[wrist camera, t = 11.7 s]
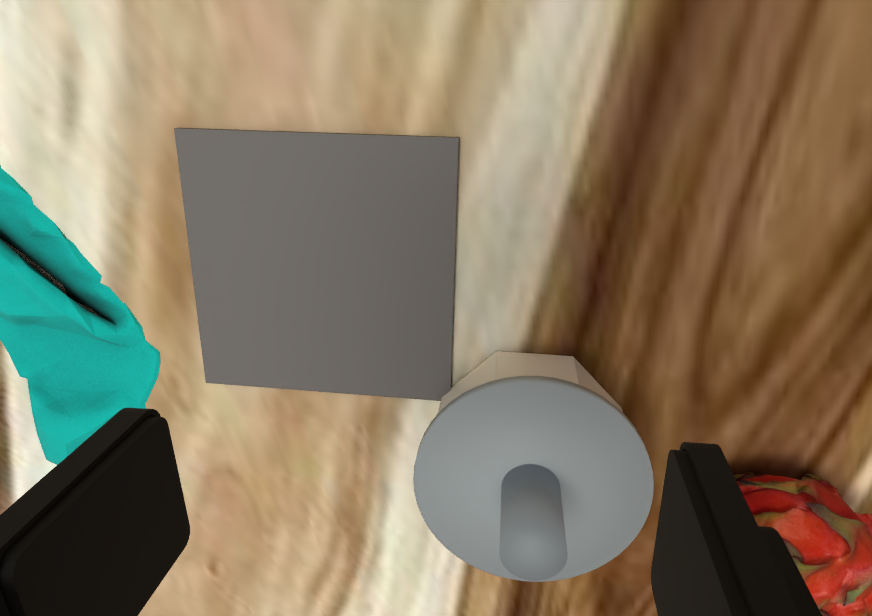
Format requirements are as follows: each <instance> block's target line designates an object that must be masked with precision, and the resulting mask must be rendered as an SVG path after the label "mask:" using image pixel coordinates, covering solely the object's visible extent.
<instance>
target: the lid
mask: <svg viewBox="0 0 872 616" xmlns="http://www.w3.org/2000/svg"><path fill="white" fill-rule="evenodd" d="M413 479H414V492H415V496H416V500H417V504H418V507H419V510H420V512H421V515H422V517H423V519H424V520H425V522H426V524H427V526H428V527H429V529H430V530H431V531H432V533H433V534H434V535H435V537H436V538H437V539H438V540H439V541H440V542H441V543H442V544H443V545H444V546H445V547H446V548H447V549H448V550H449V551H451V552H452V553H453V554H454V555H456V556H457V557H458V558H460V559H462V560H463V561H465V562H466V563H468V564H470V565H472V566H474V567H476V568H478V569H480V570H482V571H485V572H488V573H490V574H493V575H496V576H500V577H504V578H508V579H514V580H521V581H535V582H540V581H555V580H561V579H567V578H571V577H575V576H578V575H582V574H584V573H587V572H590V571H592V570H595V569H596V568H598V567H600V566H602V565H604V564H606V563H608V562H609V561H610V560H612V559H613V558H615V557H616V556H618V555H619V554H620V553H621V552H622V551H623V550H624V549H626V548H627V547H628V546H629V545H630V543H631V542H632V541H633V540H634V539H635V537H636V536H637V535H638V533H639V532H640V530H641V529H642V527H643V525H644V524H645V521H646V519H647V517H648V514H649V512H650V508H651V504H652V500H653V490H654V481H653V471H652V467H651V463H650V459H649V456H648V453H647V450H646V448H645V445H644V443H643V441H642V438H641V436H640V435H639V433H638V431H637V430H636V428H635V427H634V425H633V424H632V423H631V421H630V420H629V419H628V418H627V417H626V415H625V414H624V413H623V412H622V411H620V410H619V409H618V408H617V407H616V406H615V405H614V404H613V403H611V402H610V401H608V400H607V399H606V398H604V397H603V396H601V395H600V394H598V393H596V392H594V391H592V390H590V389H588V388H586V387H583V386H581V385H578V384H575V383H573V382H570V381H566V380H562V379H557V378H552V377H544V376H516V377H507V378H502V379H498V380H494V381H490V382H487V383H484V384H482V385H479V386H476V387H474V388H472V389H470V390H468V391H466V392H464V393H462V394H461V395H460V396H458V397H457V398H455V399H454V400H452V401H451V402H450V403H449V404H448V405H446V406H445V407H444V408H443V409H442V410H441V411H440V412H439V413H438V414H437V416H436V417H435V418H434V419H433V421H432V422H431V423H430V425H429V427H428V428H427V430H426V432H425V433H424V436H423V438H422V441H421V443H420V446H419V449H418V453H417V458H416V462H415V466H414V478H413Z"/></svg>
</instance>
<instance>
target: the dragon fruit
mask: <svg viewBox="0 0 872 616" xmlns="http://www.w3.org/2000/svg"><path fill="white" fill-rule="evenodd" d="M734 477H735V479H736V481H737V483H738V485H739V487H740V489H741V491H742V494H743V496H744V498H745V500H746V502H747V504H748V506H749V508H750V510H751V512H752V514H753V516H754V519H755V521H756V523H757V525H758V526H764V527H773V528H774V529H776V530H777V531H778V533H779V534H780V536H781V537H782V539H783V541H784V543H785V545H786V546H787V548H788V550H789V552H790V554H791V556H792V558H793V560H794V562H795V564H796V566H797V568H798V570H799V572H800V573H801V575H802V577H803V579H804V581H805V583H806V585H807V587H808V589H809V591H810V593H811V595H812V597H813V599H814V600H815V602H816V604H817V606H818V608H819V610H820V612H821V614H822V616H872V514H858V513H854V512H853V511H852V509H851V508H850V507H849V506H848V505H847V504H846V503H845V502H844V500H843V499H842V497H841V495H840V494H839V493H838V491H837V489H836V488H835V487H834V486H832V485H831V484H830V483H829V482H827V481H825V480H823V479H822V478H820V477H818V476H816V475H812V474H805V475H804V477H802V479H801V480H797V479H793V478H789V477H784V476H771V475H768V474H764V475H754V473H752V472H748V473H744V474H736V475H734Z"/></svg>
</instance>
